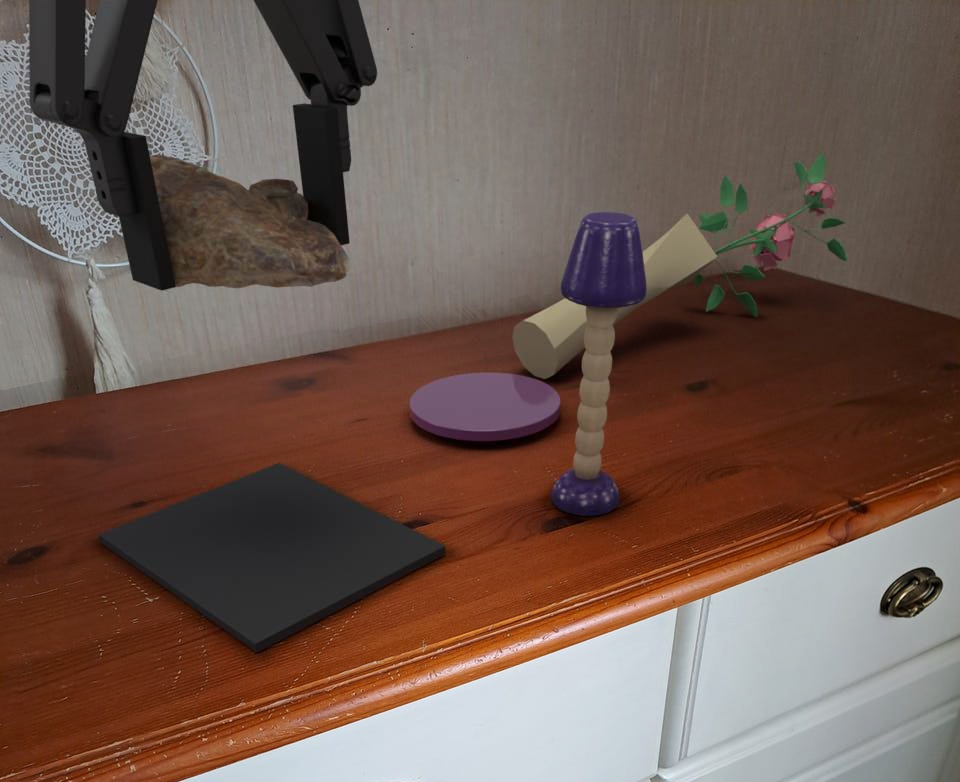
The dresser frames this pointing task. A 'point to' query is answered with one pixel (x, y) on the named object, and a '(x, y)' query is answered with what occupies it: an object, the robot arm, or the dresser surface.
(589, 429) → the toy lamp
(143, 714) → the dresser surface
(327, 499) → the place mat
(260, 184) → the brown rock
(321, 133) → the robot arm
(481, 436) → the saucer
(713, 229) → the flower vase
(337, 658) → the dresser surface
